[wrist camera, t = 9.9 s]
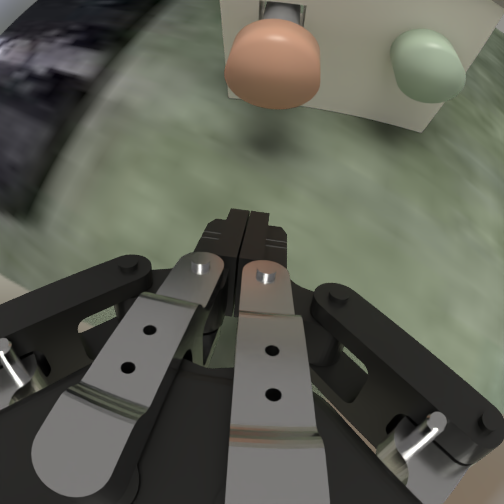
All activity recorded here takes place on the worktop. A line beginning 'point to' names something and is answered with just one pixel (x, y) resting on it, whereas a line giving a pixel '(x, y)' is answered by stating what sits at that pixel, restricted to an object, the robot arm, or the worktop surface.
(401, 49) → the sage button
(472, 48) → the panel
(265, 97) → the terracotta button
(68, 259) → the worktop surface
